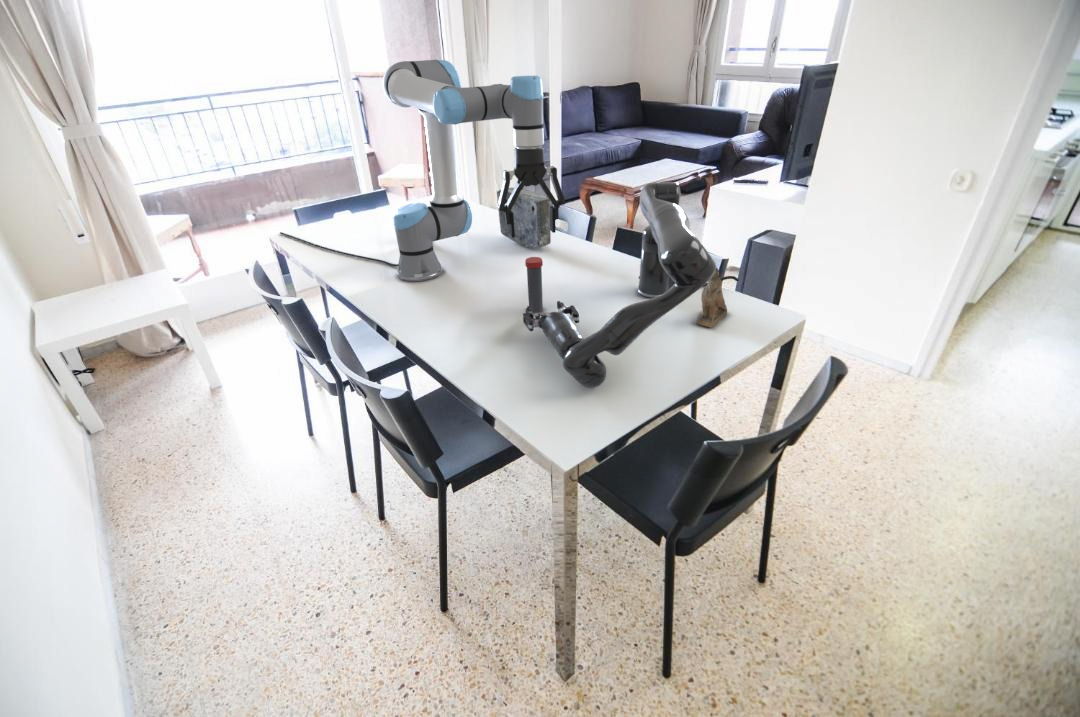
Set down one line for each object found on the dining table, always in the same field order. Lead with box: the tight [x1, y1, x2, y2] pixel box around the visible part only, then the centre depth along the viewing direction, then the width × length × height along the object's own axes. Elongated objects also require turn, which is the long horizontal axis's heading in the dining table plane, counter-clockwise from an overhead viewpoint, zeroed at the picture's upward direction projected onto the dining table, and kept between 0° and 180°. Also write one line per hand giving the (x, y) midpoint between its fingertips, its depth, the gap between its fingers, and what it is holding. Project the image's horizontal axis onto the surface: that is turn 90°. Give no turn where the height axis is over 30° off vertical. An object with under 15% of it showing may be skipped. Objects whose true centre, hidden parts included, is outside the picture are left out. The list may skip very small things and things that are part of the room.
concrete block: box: [496, 187, 552, 249], centre depth 194 cm, size 27×9×20 cm, turn 36°
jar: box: [526, 266, 544, 313], centre depth 144 cm, size 4×4×16 cm
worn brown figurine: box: [695, 267, 728, 328], centre depth 135 cm, size 12×6×18 cm, turn 136°
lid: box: [524, 256, 544, 268], centre depth 140 cm, size 5×5×2 cm
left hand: (532, 233), depth 135 cm, fingers open, 11 cm apart
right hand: (543, 306), depth 137 cm, fingers open, 8 cm apart
